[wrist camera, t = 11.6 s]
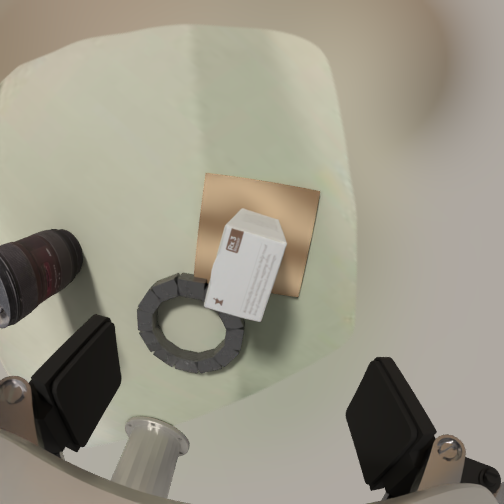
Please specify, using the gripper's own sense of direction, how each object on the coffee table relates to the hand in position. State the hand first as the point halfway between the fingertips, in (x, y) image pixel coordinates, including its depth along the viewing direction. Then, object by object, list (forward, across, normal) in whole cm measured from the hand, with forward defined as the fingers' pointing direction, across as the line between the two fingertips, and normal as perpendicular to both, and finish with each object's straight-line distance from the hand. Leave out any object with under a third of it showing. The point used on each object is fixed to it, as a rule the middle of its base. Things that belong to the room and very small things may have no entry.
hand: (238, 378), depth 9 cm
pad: (+22, 0, 0) cm, 22 cm away
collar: (+22, +6, +12) cm, 25 cm away
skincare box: (+21, 0, 0) cm, 21 cm away
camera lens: (+22, +25, +6) cm, 34 cm away
